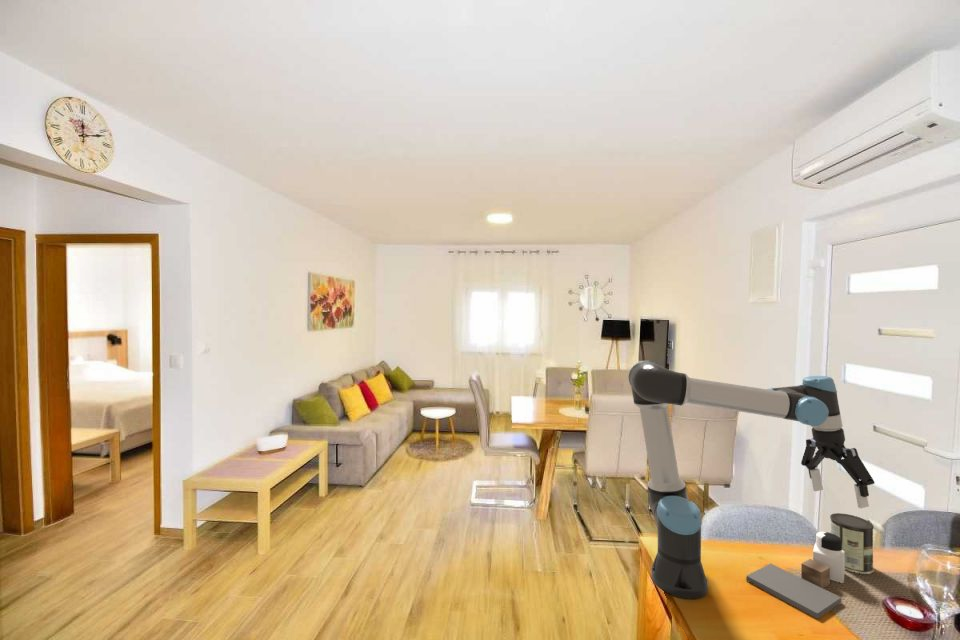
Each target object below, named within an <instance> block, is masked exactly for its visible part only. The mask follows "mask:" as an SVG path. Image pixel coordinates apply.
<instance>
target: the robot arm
mask: <svg viewBox="0 0 960 640" xmlns="http://www.w3.org/2000/svg"><path fill="white" fill-rule="evenodd" d="M628 382H629V385H630V388H631V393H632V399H633V404H634V405H635V406H637V408H639V411H640V412H639V413H640V418H641V424H642V429H643V435H644V436H643V437H644V442H645V450H646V454H647V461H648V466H649V473H650V479H649V481H647V491H648V504H649V508H650V510H651V512H652V515H653V517H654V521H655V524H656V527H657V552H656V555H655V558H654V560H653V562H652V565H651V570H650V571H651V573H650V574H651V577H650V578H651V580H652V582H653V583H654V584H655V586H656V587H657V588H659V589H660V590H661V591H663V592H665V593H666V594H669V595H671V596H673V597H677V598H681V599H686V600H687V599H688V600H696V599H700V598H703V597H704V596H706V595H707V593H708V591H709V590H708V589H709V586H708V585H709V584H708V583H709V582H708V578H707V576H706V574H705V570H704V567H703V563H702V523H703V521H702V515H701V510H700V508H699V507H698V505H697V504H696V503H695V502H694V501H691V500H689V497H688V493H687V488H686V487H687V484H686V483H685V481H684V480H683V479H681V478H680V476H679V475H680V474H679V469H678V462H677V458H676V451H675V444H674V439H673V438H674V437H673V434H672V427H671V426H672V425H671V420H670V415H669V409H668V406H669V405H673V406H674V405H675V406H682V407H683V406H684V405H686V404H690V405H697V406H703V407H708V408H709V407H710V408H716V409H722V410H727V411H734V412H739V413H740V412H741V413H746V414H754V415H759V416H766V417H771V418H777V419H784V420H787V421H795V422H798V423H799V422H800V423H801V424H803V425H808V426H810V427H812V428H811V433H812V434H811V435H812V438H807V439H805V443H806V444H805V449H804V453H803V455H802V459H801V463H800V464H801V465H802V466H803V467H806V468H807V470H808V475H809V479H810V480H811V484H812V488H813V489H812V490H813V491H814V492H819V491H822V490H824V488H823V481H822V476H821V470H820V468H819V467H818V466H819V465H820V463H821V462H822V461H823V460H824V459H830V460H832V461H835V462H836V463H837V464H839V465H841V466H842V468H843V469H844V470H845V471H846V473H847V474H848V476H849V477H850V478H851V479H852V480H853V481H854V482H855V484H853V485H854V492H855V497H856V504H857V507H858V509H865V508H868V507H870V504H869V500H868V497H869V496H870V494H869V488H868V486H871V485H874V484H876V483H875V480H874V478H873V477H872V476H871V474H870V472H869V471H868V469H867V468H866V466H865V464H864V462H863V461H862V459H861V458H860V456H859V453H858V449H856V447H853V448H852V447H851V448H848V447H846V445H845V442H846V436H845V430H844V429H843V422H842V416H841V411H840V407H839V406H840V405H839V399H838V390H837V388H836V383H835V380H834V379H833V378H832V377H831V376H827V375H811V376H806V377H803V378H802V384H799V385H792V386H783V387H771V388H761V387H753V386H747V385H740V384H736V383H735V384H733V383H728V382H720V381H713V380H709V379H708V380H707V379H701V378H700V379H699V378H694V377H689V376H688V374H687V373H684V372H677V371H674V370H671V369H668V368H666V367H663V366H662V365H661V364H660V363H659V362H657V361H654V360H641V361H638V362H637V363H635V364H634V365H633V366H632V367H631V368H630V370H629V373H628ZM816 448H817V451H816Z"/></svg>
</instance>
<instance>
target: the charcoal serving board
mask: <svg viewBox="0 0 960 640" xmlns="http://www.w3.org/2000/svg"><path fill="white" fill-rule="evenodd" d="M745 579H746V580H747V582H748V581H749V582H748V583H750V582H751V583H750V584H752V583H753V584H752V585H753V586H755V585H756V586H755V587H757V588H759V589H761V590H763V591H765V592H766V593H769V594H770V595H772V596H774V597H776V598H778V599H779V600H781V601H783V602H785V603H787V604H789V605H791V606H793V607H794V608H797V609H798V610H800V611H802V612H804V613H805V614H807V615H809V616H811V617H813V618H815V619H817V620H818V619H820V618H821V617H822V616H825V615H826V614H827V613H829V612H831V611H832V610H833V609H835V608H836V607H837V606H840V605H841V604H842V597H841V596H840V595H837V594H835V593H833V592H832V591H831V592H830V591H829V590H827V589H825V588H821V587H819V586H817V585H814V584H812V583H810V582H808V581H806V580H804V579H802V578H801V577H800V576H798V575H795V574H793V573H792V572H789V571H787V570H784V569H783V568H781V567H779V566H777V565H774V564H772V563H769V564H767V565H765V566H762V567H761V568H758V569H757V570H755V571H753V572H751V573H749V574H747V575H746V576H745Z"/></svg>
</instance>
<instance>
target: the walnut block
mask: <svg viewBox="0 0 960 640" xmlns="http://www.w3.org/2000/svg"><path fill="white" fill-rule="evenodd" d="M800 567H801V574H800V575H801V577H800V578H802V579H804V580H806V581H808V582H810V583H812V584H814V585H817V586H819V587H821V588H823V589H825V588H826V587H827V586H828V585H830V584H831V582H830V581H831V580H830V567H828V566H825V565H823V564H821V563H818V562H816V561H814V560H813V558H812V559H811V558H809V559H807V560H805V561H804V562H803V561H802V563H801V566H800Z"/></svg>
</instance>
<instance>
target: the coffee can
mask: <svg viewBox="0 0 960 640" xmlns="http://www.w3.org/2000/svg"><path fill="white" fill-rule="evenodd" d="M829 517H830V533H832V534H834V535H836V536H838V537H839V538H840V539H841V540H842V550H843V551H845V571H848V572H851V573H854V572H855V574H859V573H860V574H859V575H871V574H872V573H874V528H875V527H874V524H873V523H872V522H870V521H869V520H867V519H864V518H861V517H859V516H857V515H851V514H848V513H839V512H838V513H832V514H830V515H829Z"/></svg>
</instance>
